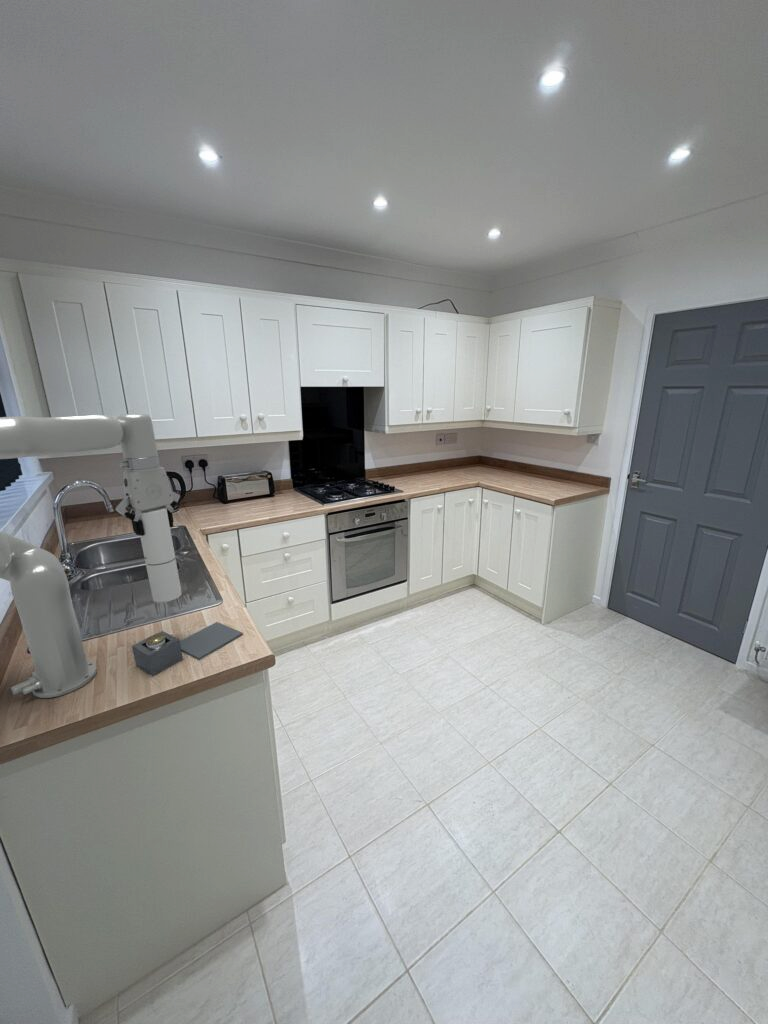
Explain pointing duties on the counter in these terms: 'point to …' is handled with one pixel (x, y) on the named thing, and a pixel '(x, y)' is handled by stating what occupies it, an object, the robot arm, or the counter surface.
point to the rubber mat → (208, 640)
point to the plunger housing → (157, 655)
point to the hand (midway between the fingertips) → (155, 530)
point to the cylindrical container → (160, 555)
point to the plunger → (155, 641)
